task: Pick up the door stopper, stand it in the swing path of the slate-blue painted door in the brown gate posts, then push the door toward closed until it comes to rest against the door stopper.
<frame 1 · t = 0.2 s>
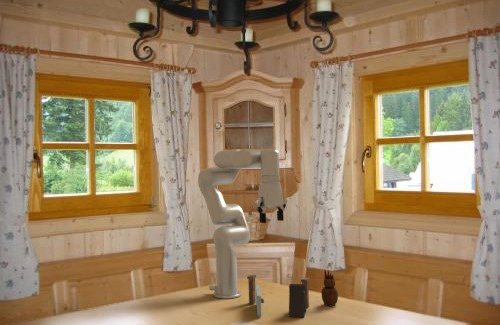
hand: (271, 221, 212), 37 cm above the table, tool pointing down, fingers open, 9 cm apart
wooden figurine: (329, 305, 219), on the table
brown gate posts: (252, 303, 224), on the table
door: (259, 299, 213), point 5 cm above the table, hinge at -70.0°
door stopper: (297, 314, 208), on the table
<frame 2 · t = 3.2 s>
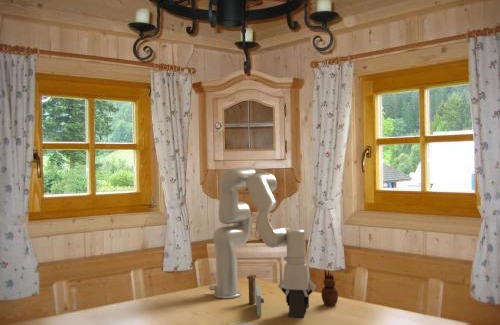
hand: (297, 305, 208), 4 cm above the table, tool pointing down, fingers closed on door stopper, 6 cm apart
door stopper: (297, 314, 208), on the table, touching gripper
everything else where it was.
when the fingers open (4 cm above the table, at t = 9.5 s): door stopper stays where it is, on the table.
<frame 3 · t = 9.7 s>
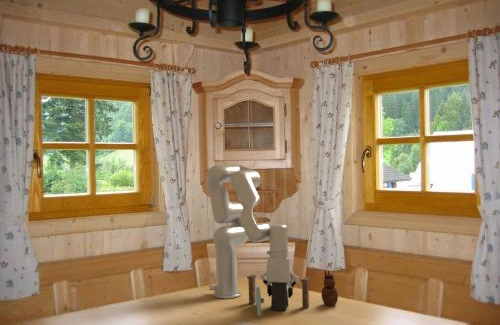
hand: (280, 296, 217), 5 cm above the table, tool pointing down, fingers open, 8 cm apart
door stopper: (279, 308, 217), on the table
everything else where it was.
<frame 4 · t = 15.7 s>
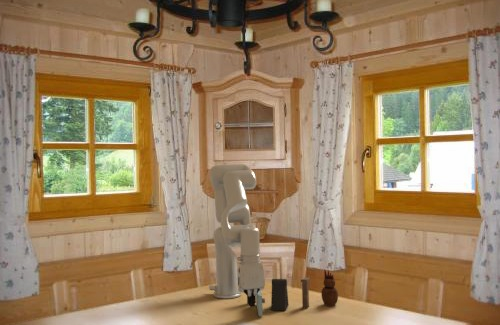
hand: (251, 305, 205), 5 cm above the table, tool pointing down, fingers closed
door: (260, 299, 213), point 5 cm above the table, hinge at -68.6°
everything else where it was.
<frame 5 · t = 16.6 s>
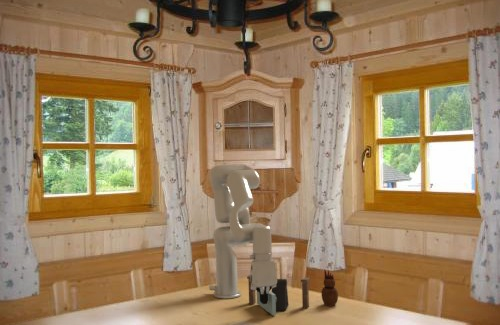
hand: (264, 303, 206), 5 cm above the table, tool pointing down, fingers closed
door: (267, 299, 214), point 5 cm above the table, hinge at -52.5°, touching gripper
everything else where it was.
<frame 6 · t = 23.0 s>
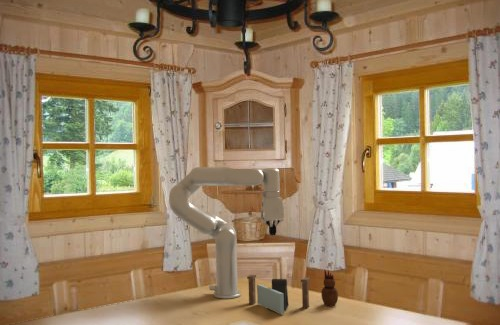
hand: (272, 234, 240), 27 cm above the table, tool pointing down, fingers closed
door: (271, 298, 215), point 5 cm above the table, hinge at -41.8°
everything else where it was.
at the end: door stopper inside the target area (0.5 cm from its centre), on the table; door at -42° (first picture: -70°); door stopper tilted 0° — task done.
